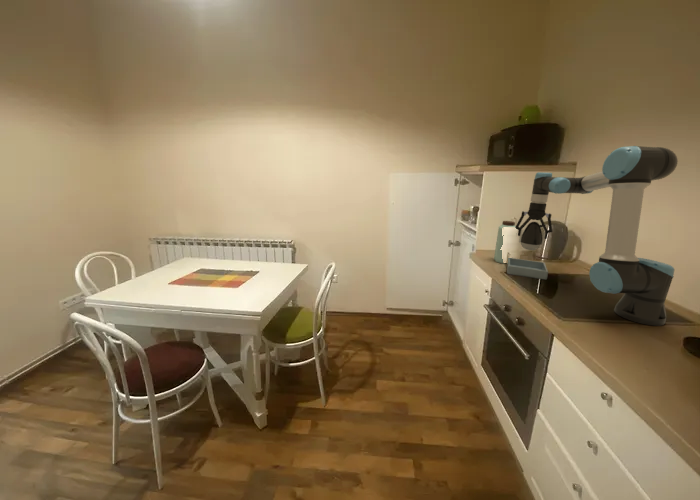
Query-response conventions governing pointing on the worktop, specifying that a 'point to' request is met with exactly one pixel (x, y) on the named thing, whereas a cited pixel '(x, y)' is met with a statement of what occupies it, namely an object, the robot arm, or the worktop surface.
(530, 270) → the bin
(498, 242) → the water bottle
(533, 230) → the pump dispenser
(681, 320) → the worktop surface
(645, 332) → the worktop surface
